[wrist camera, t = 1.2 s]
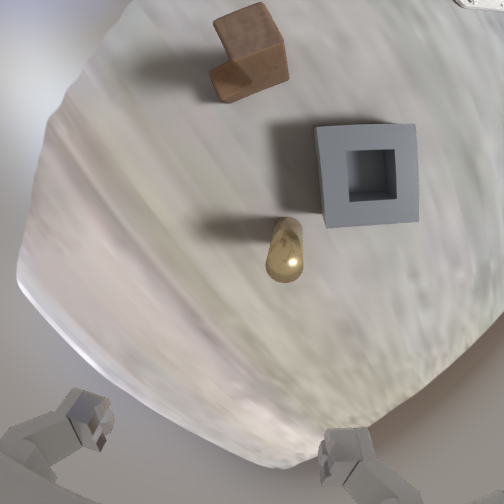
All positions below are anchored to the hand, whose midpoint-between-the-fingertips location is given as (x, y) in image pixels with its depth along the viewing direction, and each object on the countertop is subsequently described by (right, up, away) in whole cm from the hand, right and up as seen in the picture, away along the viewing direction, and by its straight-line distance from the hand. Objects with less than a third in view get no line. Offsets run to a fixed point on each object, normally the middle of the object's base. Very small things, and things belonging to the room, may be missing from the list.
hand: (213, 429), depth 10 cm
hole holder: (+16, +18, +29) cm, 37 cm away
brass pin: (+7, +9, +34) cm, 36 cm away
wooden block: (+2, +30, +26) cm, 40 cm away
